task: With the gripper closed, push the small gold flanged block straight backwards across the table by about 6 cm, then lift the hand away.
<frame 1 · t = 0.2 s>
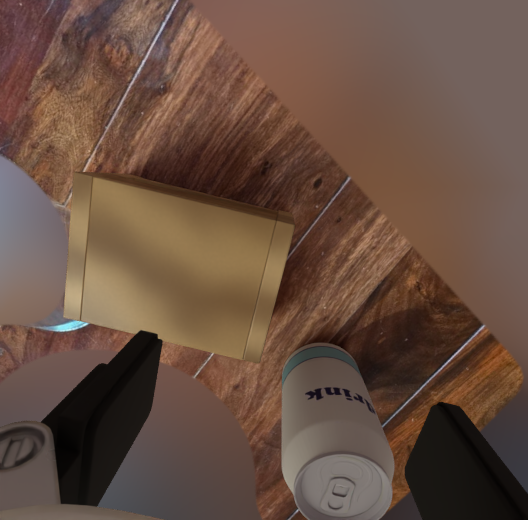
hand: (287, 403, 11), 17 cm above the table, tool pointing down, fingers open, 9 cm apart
gold flanged block: (199, 250, 27), on the table
beverage can: (318, 369, 30), on the table
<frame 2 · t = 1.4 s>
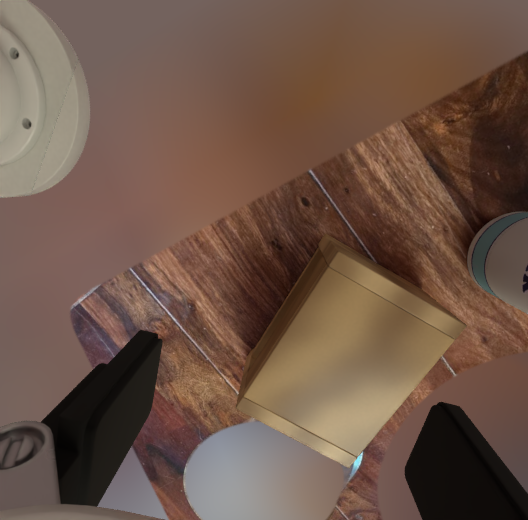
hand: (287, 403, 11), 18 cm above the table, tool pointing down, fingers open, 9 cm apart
gold flanged block: (330, 325, 29), on the table
beverage can: (502, 251, 26), on the table
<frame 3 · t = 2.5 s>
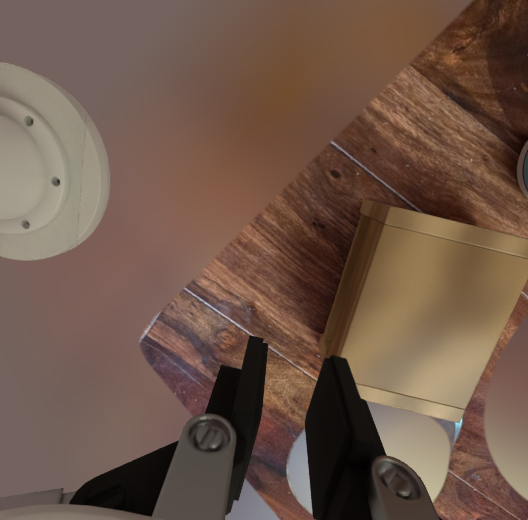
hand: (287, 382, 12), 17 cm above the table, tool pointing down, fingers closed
gold flanged block: (393, 288, 28), on the table
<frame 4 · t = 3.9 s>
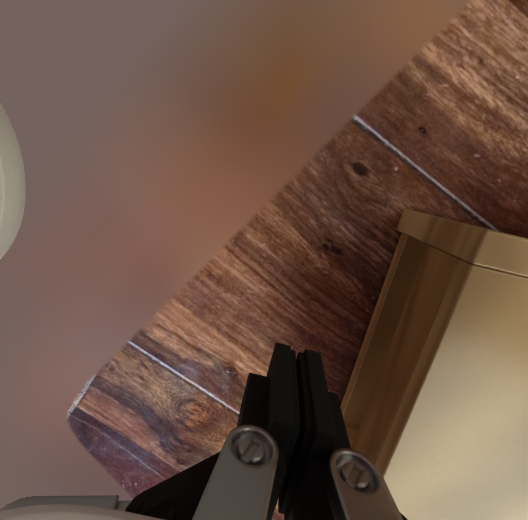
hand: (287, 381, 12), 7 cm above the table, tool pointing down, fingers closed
gold flanged block: (444, 344, 19), on the table
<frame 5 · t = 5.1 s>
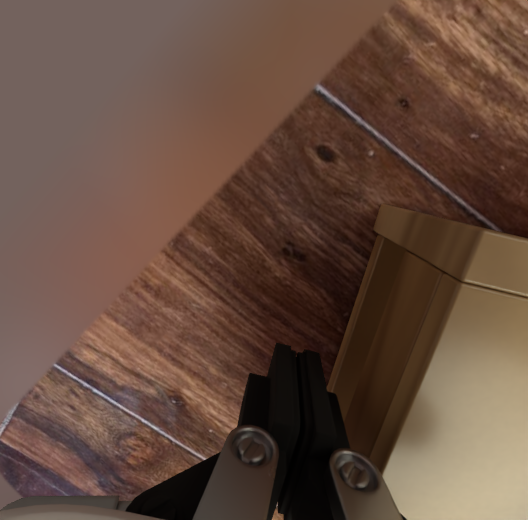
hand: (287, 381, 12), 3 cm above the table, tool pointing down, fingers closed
gold flanged block: (435, 371, 15), on the table, touching gripper
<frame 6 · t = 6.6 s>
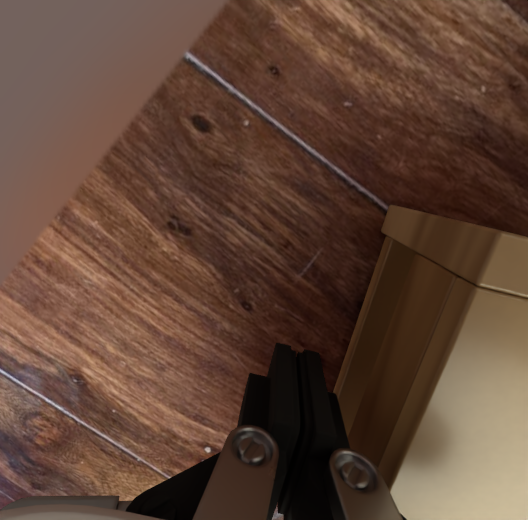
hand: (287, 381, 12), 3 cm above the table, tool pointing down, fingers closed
gold flanged block: (444, 377, 15), on the table, touching gripper
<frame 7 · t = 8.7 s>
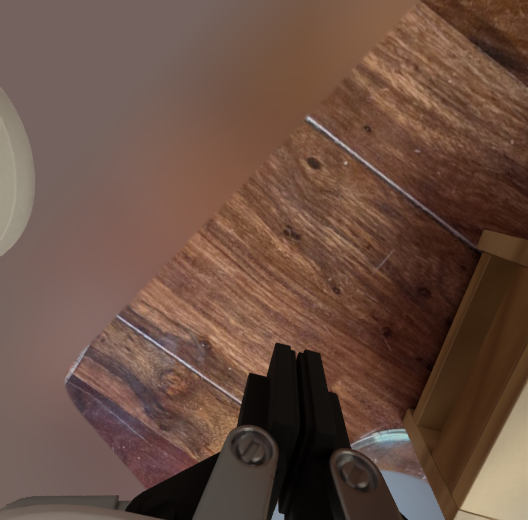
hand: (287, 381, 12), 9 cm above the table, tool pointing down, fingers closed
gold flanged block: (516, 354, 20), on the table
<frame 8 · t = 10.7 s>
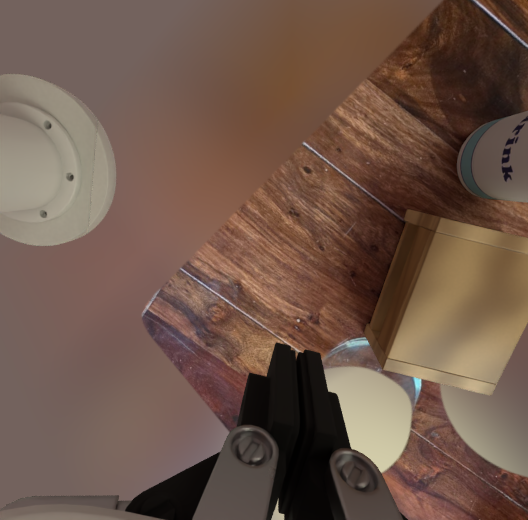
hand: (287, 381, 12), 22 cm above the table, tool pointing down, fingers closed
gold flanged block: (430, 285, 33), on the table
beverage can: (487, 160, 30), on the table
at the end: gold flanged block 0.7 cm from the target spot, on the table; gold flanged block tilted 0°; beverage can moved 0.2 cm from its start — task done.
